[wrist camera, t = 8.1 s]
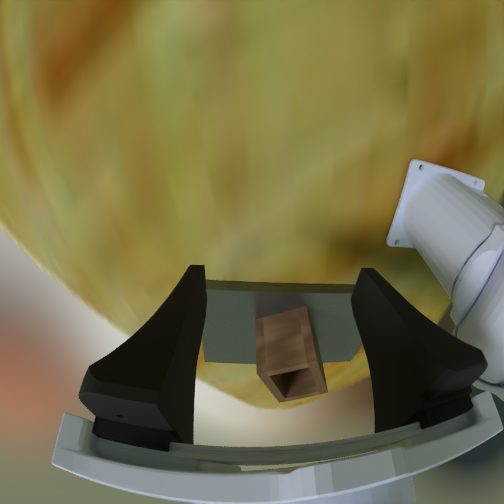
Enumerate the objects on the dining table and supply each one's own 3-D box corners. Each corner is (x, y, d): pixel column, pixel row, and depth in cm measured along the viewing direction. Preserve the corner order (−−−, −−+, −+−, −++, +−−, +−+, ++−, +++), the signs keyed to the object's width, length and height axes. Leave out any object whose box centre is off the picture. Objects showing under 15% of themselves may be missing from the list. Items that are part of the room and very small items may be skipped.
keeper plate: (384, 284, 26) (401, 322, 22) (348, 353, 33) (357, 386, 29) (199, 279, 25) (191, 322, 21) (205, 353, 32) (202, 389, 28)
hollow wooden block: (306, 306, 25) (316, 360, 21) (318, 345, 29) (327, 392, 24) (255, 319, 26) (256, 373, 22) (275, 355, 30) (279, 402, 25)
